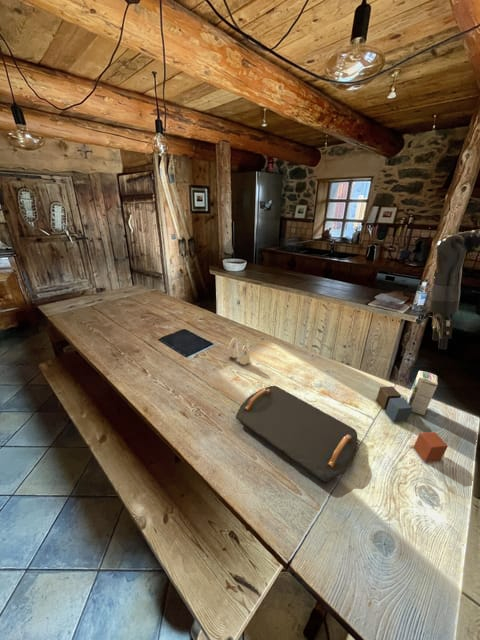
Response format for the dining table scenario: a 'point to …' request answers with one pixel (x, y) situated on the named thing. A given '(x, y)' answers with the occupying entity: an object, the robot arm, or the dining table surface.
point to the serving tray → (300, 431)
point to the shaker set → (234, 352)
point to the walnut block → (386, 396)
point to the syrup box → (422, 391)
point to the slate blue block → (398, 410)
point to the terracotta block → (430, 447)
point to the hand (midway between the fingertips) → (439, 344)
